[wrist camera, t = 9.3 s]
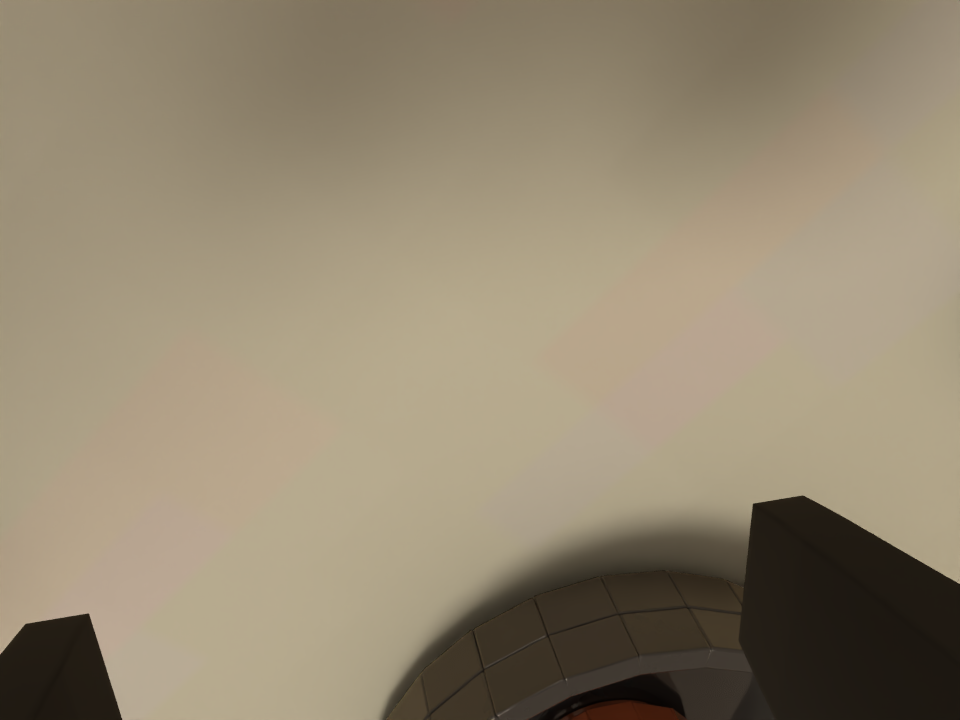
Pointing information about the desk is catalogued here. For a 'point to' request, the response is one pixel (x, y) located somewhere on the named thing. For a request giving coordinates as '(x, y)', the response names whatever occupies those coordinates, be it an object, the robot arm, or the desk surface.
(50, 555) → the desk surface
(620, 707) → the terracotta cup
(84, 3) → the desk surface
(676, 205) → the desk surface
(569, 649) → the pan
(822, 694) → the robot arm
